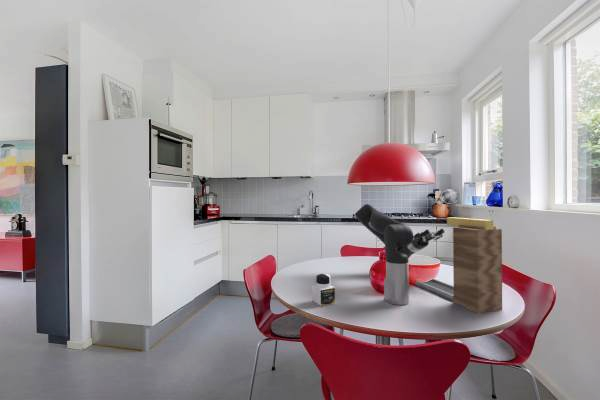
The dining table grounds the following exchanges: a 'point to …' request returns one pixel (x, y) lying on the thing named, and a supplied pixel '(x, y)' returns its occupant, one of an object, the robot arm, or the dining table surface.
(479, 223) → the bar
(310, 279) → the dining table surface
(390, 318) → the dining table surface
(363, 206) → the robot arm
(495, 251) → the stand
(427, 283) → the tray
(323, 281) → the medicine bottle
